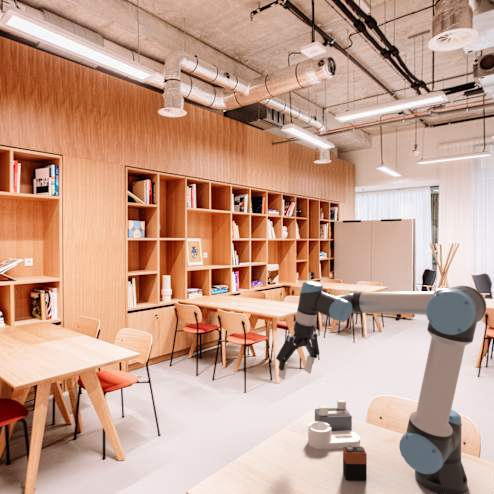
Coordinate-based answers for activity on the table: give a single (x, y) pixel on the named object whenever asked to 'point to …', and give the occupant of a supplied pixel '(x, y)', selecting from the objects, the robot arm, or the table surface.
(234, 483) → the table surface
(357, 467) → the battery
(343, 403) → the rear tab
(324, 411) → the front tab
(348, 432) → the bracket
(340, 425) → the switch box
